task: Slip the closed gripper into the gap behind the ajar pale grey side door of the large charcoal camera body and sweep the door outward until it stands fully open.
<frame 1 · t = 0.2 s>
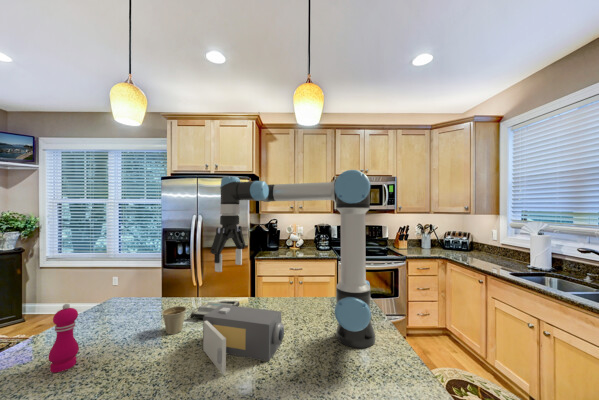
hand: (229, 267, 101), 28 cm above the countertop, tool pointing down, fingers open, 13 cm apart
flower pot: (174, 331, 106), on the countertop
camera body: (242, 346, 93), on the countertop
side door: (212, 345, 83), point 6 cm above the countertop, hinge at 35.0°
pepper mill: (63, 367, 81), on the countertop
camcorder: (219, 314, 123), on the countertop
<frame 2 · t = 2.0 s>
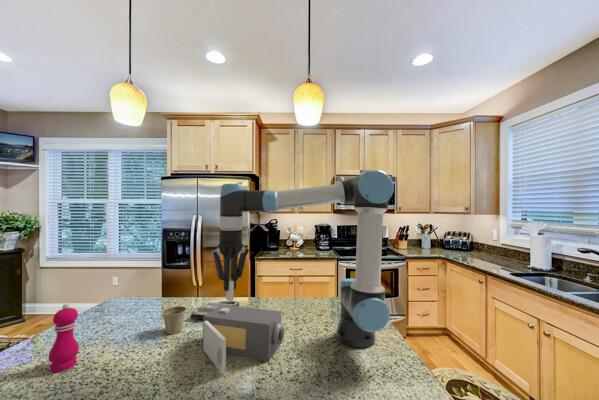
hand: (229, 299, 84), 21 cm above the countertop, tool pointing down, fingers closed
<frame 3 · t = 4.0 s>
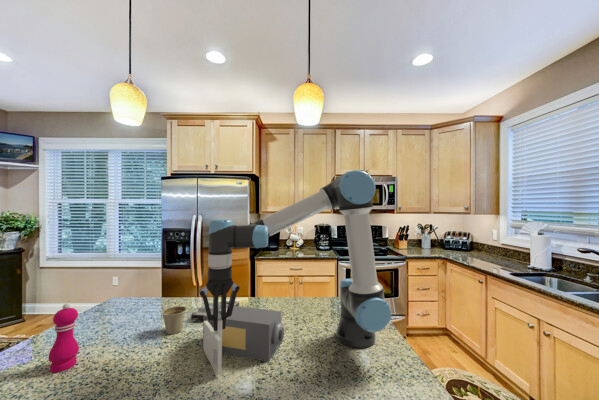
hand: (219, 339, 81), 9 cm above the countertop, tool pointing down, fingers closed
side door: (210, 345, 83), point 6 cm above the countertop, hinge at 39.4°, touching gripper
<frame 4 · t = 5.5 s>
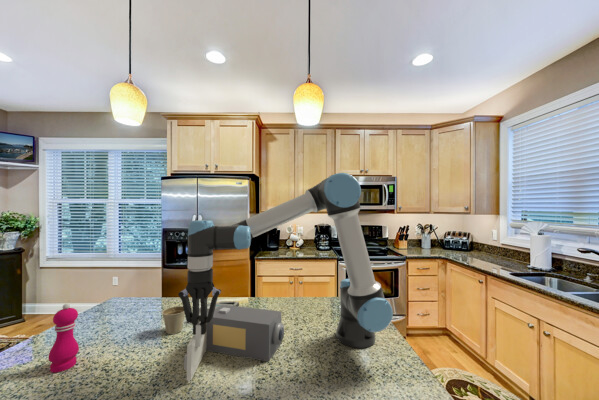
hand: (199, 344, 79), 8 cm above the countertop, tool pointing down, fingers closed
side door: (196, 347, 82), point 6 cm above the countertop, hinge at 68.1°, touching gripper
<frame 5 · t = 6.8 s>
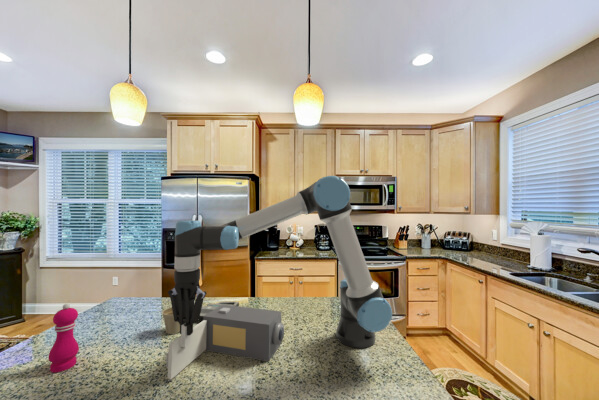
hand: (186, 344, 79), 8 cm above the countertop, tool pointing down, fingers closed
side door: (188, 346, 82), point 6 cm above the countertop, hinge at 88.2°, touching gripper
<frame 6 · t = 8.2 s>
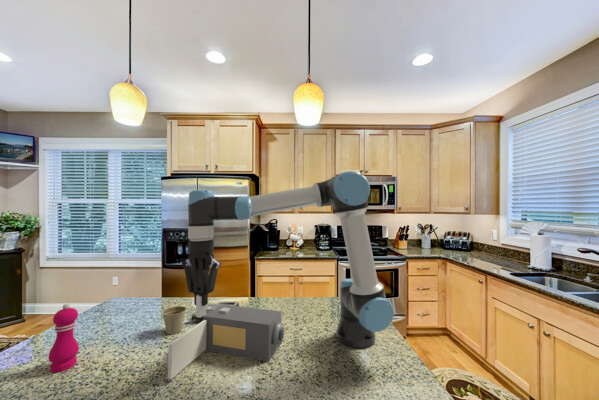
hand: (201, 315, 78), 18 cm above the countertop, tool pointing down, fingers closed
side door: (188, 346, 82), point 6 cm above the countertop, hinge at 88.2°
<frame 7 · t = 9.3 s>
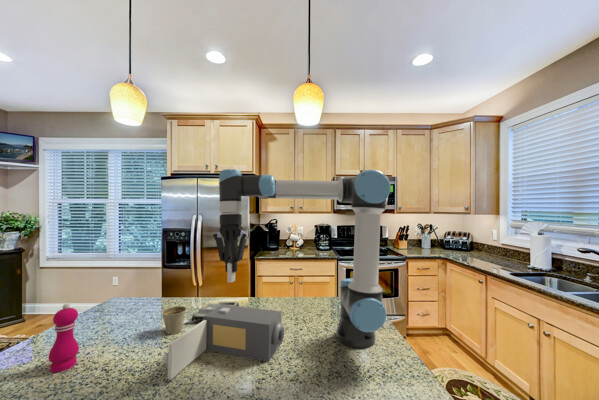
hand: (231, 281, 87), 26 cm above the countertop, tool pointing down, fingers closed
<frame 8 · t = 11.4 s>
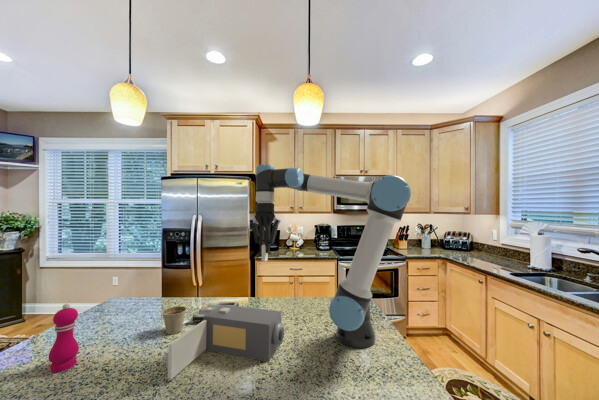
hand: (264, 260, 101), 30 cm above the countertop, tool pointing down, fingers closed
at the end: side door at +88° (first picture: +35°) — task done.
